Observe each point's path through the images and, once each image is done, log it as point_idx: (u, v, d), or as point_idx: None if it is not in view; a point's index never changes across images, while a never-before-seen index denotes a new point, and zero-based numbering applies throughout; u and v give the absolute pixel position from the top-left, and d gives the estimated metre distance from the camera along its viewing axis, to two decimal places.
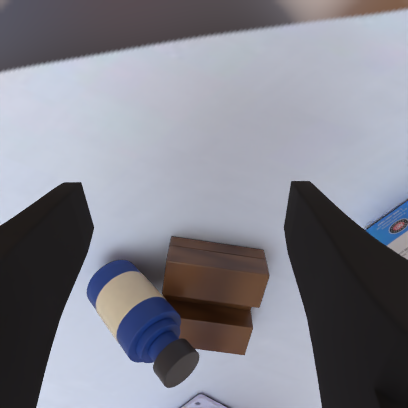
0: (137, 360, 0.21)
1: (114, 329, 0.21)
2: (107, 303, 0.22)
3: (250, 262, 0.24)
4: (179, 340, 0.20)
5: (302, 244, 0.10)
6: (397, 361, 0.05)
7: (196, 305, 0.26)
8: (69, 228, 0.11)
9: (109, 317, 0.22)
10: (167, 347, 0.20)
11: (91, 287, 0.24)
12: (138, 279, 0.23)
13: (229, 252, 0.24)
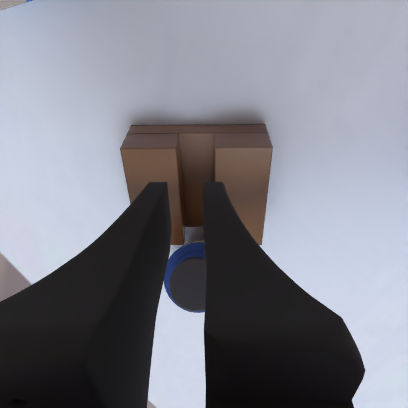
0: None
1: None
2: None
3: None
4: None
5: (205, 244, 0.10)
6: (207, 359, 0.05)
7: None
8: (162, 228, 0.10)
9: None
10: None
11: None
12: None
13: None
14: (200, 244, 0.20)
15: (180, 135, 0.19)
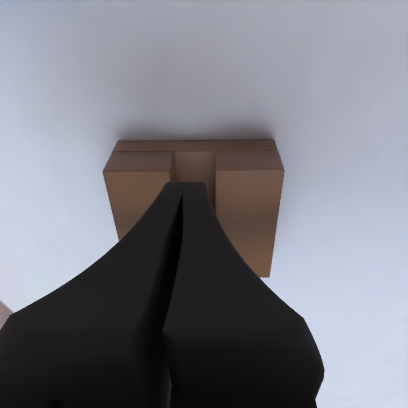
0: None
1: None
2: None
3: None
4: None
5: None
6: (169, 358, 0.05)
7: None
8: (181, 228, 0.10)
9: None
10: None
11: None
12: None
13: None
14: None
15: (174, 153, 0.16)
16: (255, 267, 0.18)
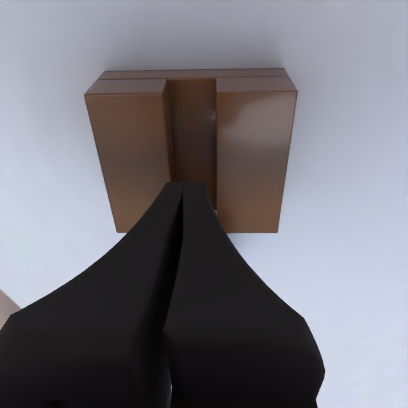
0: None
1: None
2: None
3: None
4: None
5: None
6: (170, 359, 0.05)
7: (216, 170, 0.16)
8: (181, 228, 0.10)
9: None
10: None
11: None
12: None
13: None
14: None
15: (169, 81, 0.14)
16: (261, 220, 0.16)
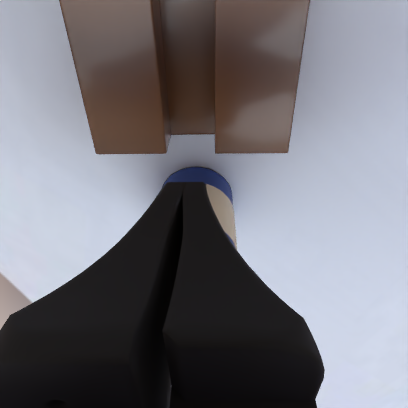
0: None
1: None
2: None
3: None
4: None
5: None
6: (169, 359, 0.05)
7: (214, 76, 0.14)
8: (181, 228, 0.10)
9: None
10: None
11: None
12: None
13: None
14: None
15: None
16: (269, 134, 0.13)
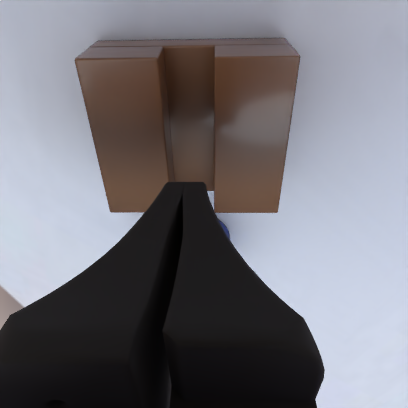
0: None
1: None
2: None
3: None
4: None
5: None
6: (170, 358, 0.05)
7: None
8: (181, 228, 0.10)
9: None
10: None
11: None
12: None
13: None
14: None
15: (165, 49, 0.13)
16: (261, 198, 0.15)
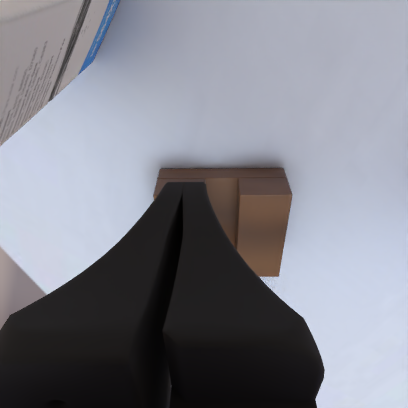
0: None
1: None
2: None
3: None
4: None
5: None
6: (169, 358, 0.05)
7: (235, 233, 0.23)
8: (181, 228, 0.10)
9: None
10: None
11: None
12: None
13: None
14: None
15: (206, 180, 0.21)
16: (267, 268, 0.23)
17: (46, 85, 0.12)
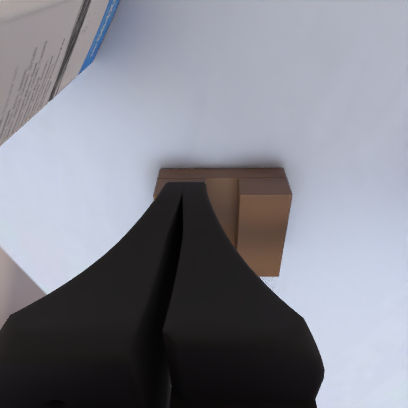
0: None
1: None
2: None
3: None
4: None
5: None
6: (169, 358, 0.05)
7: (235, 233, 0.23)
8: (181, 228, 0.10)
9: None
10: None
11: None
12: None
13: None
14: None
15: (206, 180, 0.21)
16: (267, 268, 0.23)
17: (46, 85, 0.12)
